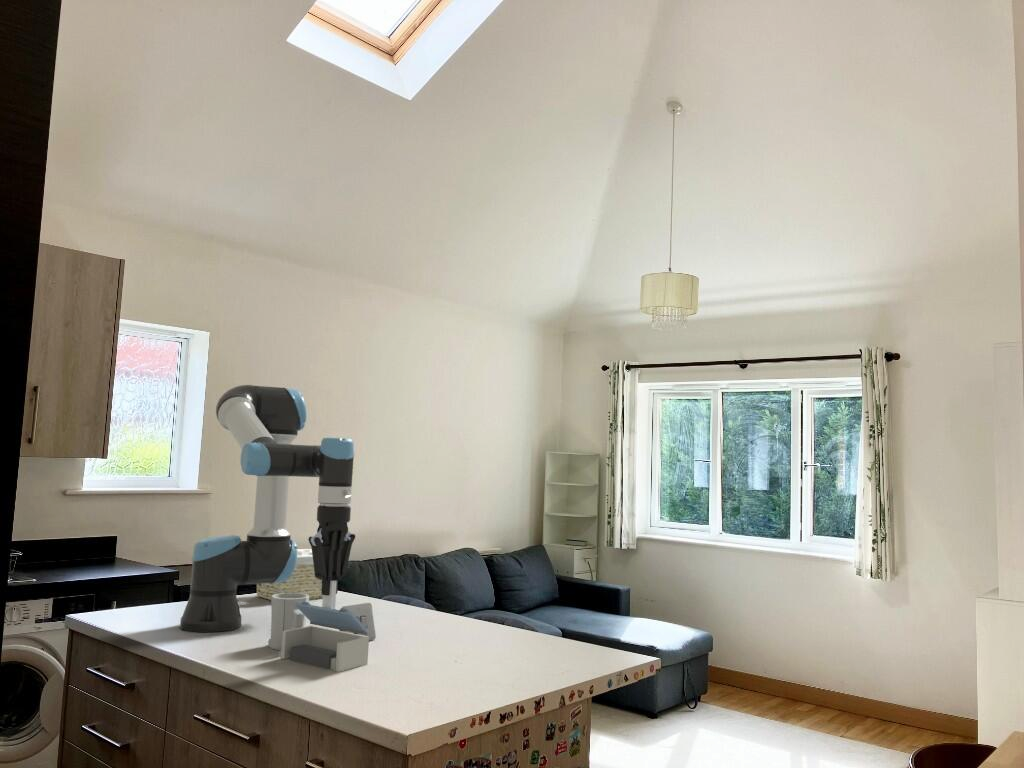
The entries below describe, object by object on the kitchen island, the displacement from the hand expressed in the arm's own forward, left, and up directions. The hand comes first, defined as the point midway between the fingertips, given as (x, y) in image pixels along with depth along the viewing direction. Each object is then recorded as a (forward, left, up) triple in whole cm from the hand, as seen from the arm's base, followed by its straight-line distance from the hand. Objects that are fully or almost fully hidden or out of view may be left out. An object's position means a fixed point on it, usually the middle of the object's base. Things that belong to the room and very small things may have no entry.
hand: (328, 609), depth 182 cm
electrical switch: (-9, +19, -12) cm, 24 cm away
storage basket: (-66, +53, -12) cm, 86 cm away
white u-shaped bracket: (0, 0, -11) cm, 11 cm away
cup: (-16, +4, -12) cm, 20 cm away
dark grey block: (0, -3, -12) cm, 12 cm away
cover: (0, +1, -3) cm, 3 cm away
